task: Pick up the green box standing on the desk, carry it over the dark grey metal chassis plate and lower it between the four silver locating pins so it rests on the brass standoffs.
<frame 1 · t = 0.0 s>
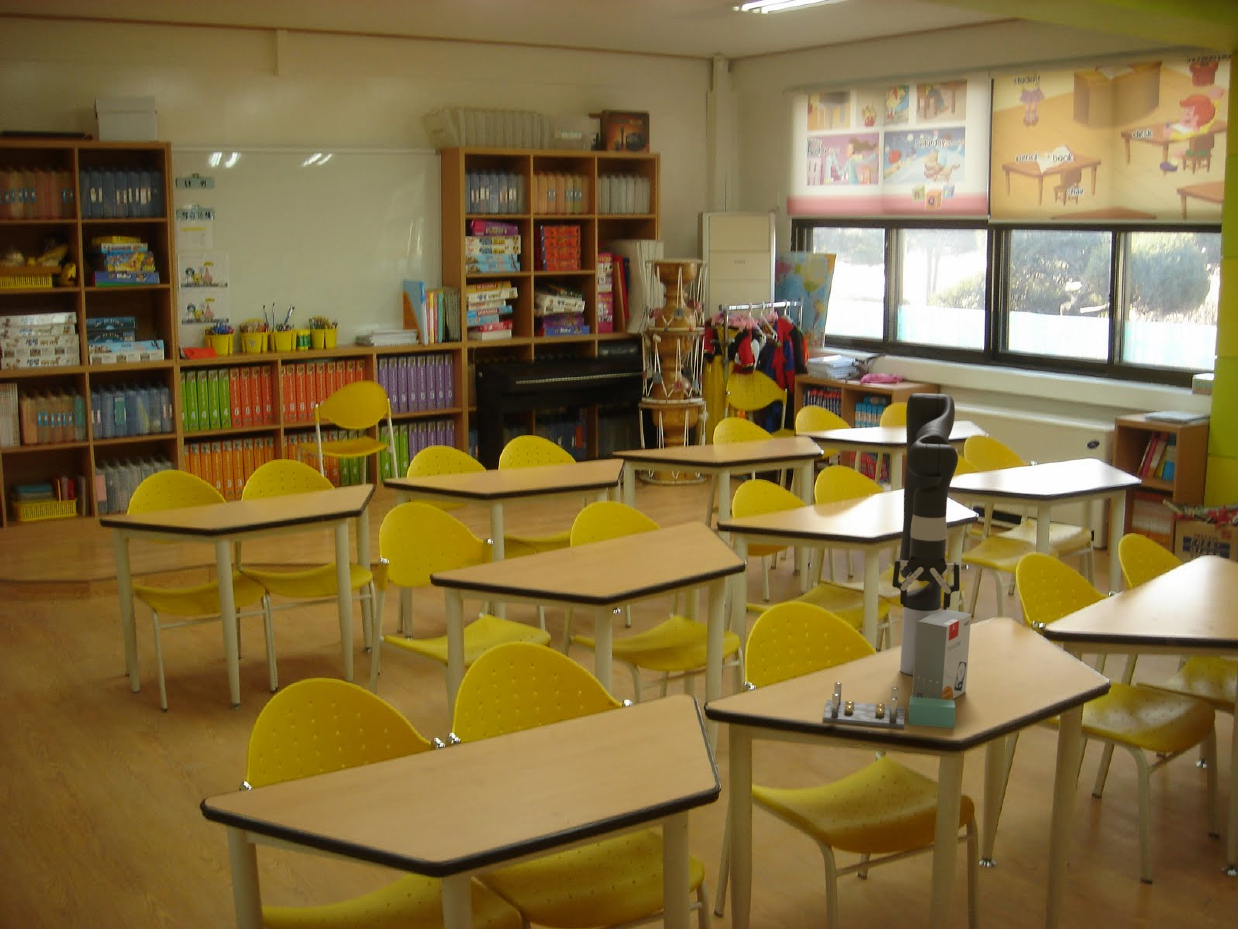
hand: (924, 607, 285), 29 cm above the table, fingers open, 8 cm apart
green box: (931, 723, 298), on the table
chassis: (864, 716, 301), on the table
hard drive box: (939, 697, 315), on the table
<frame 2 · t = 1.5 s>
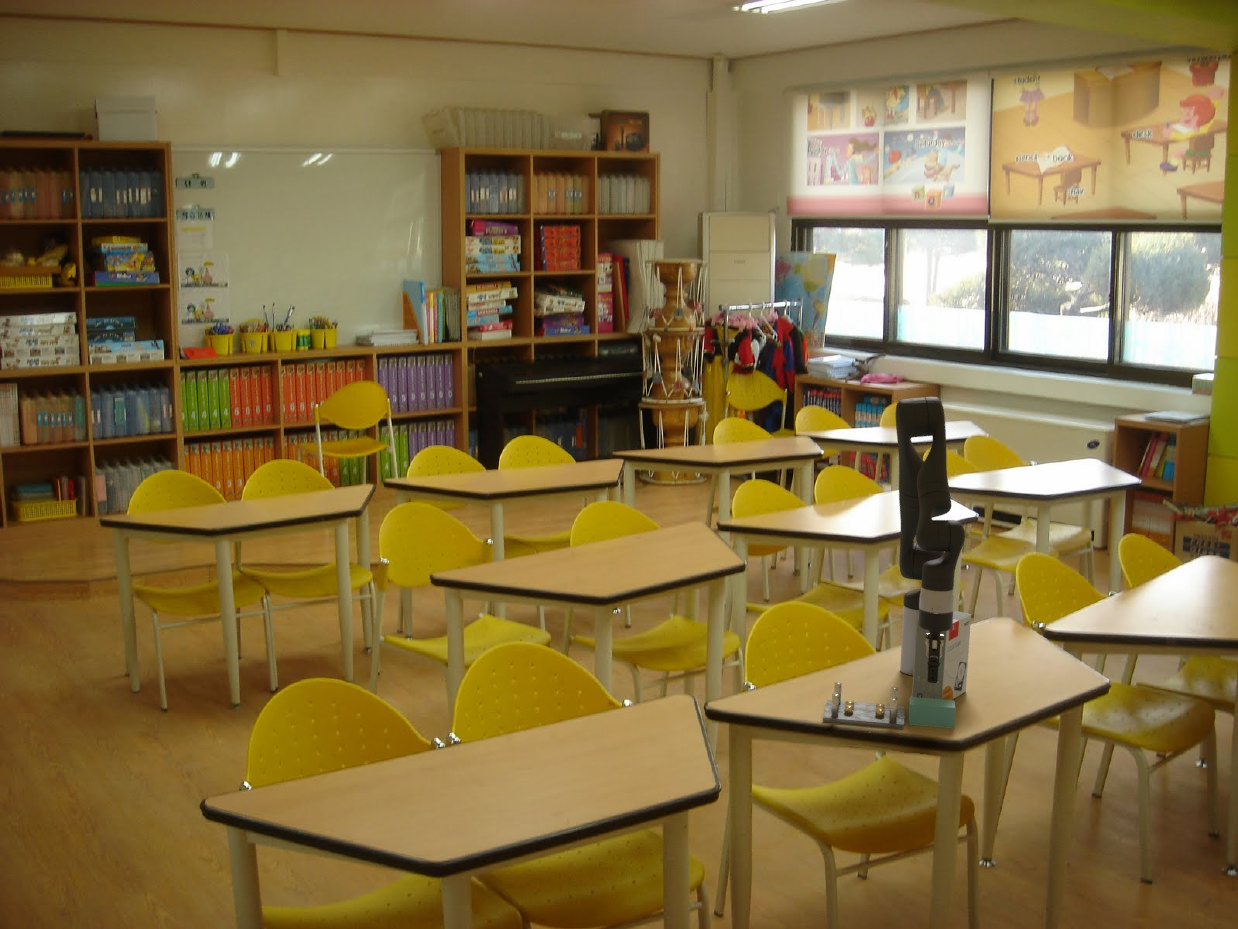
hand: (932, 676, 296), 11 cm above the table, fingers open, 8 cm apart
nothing on the table moved.
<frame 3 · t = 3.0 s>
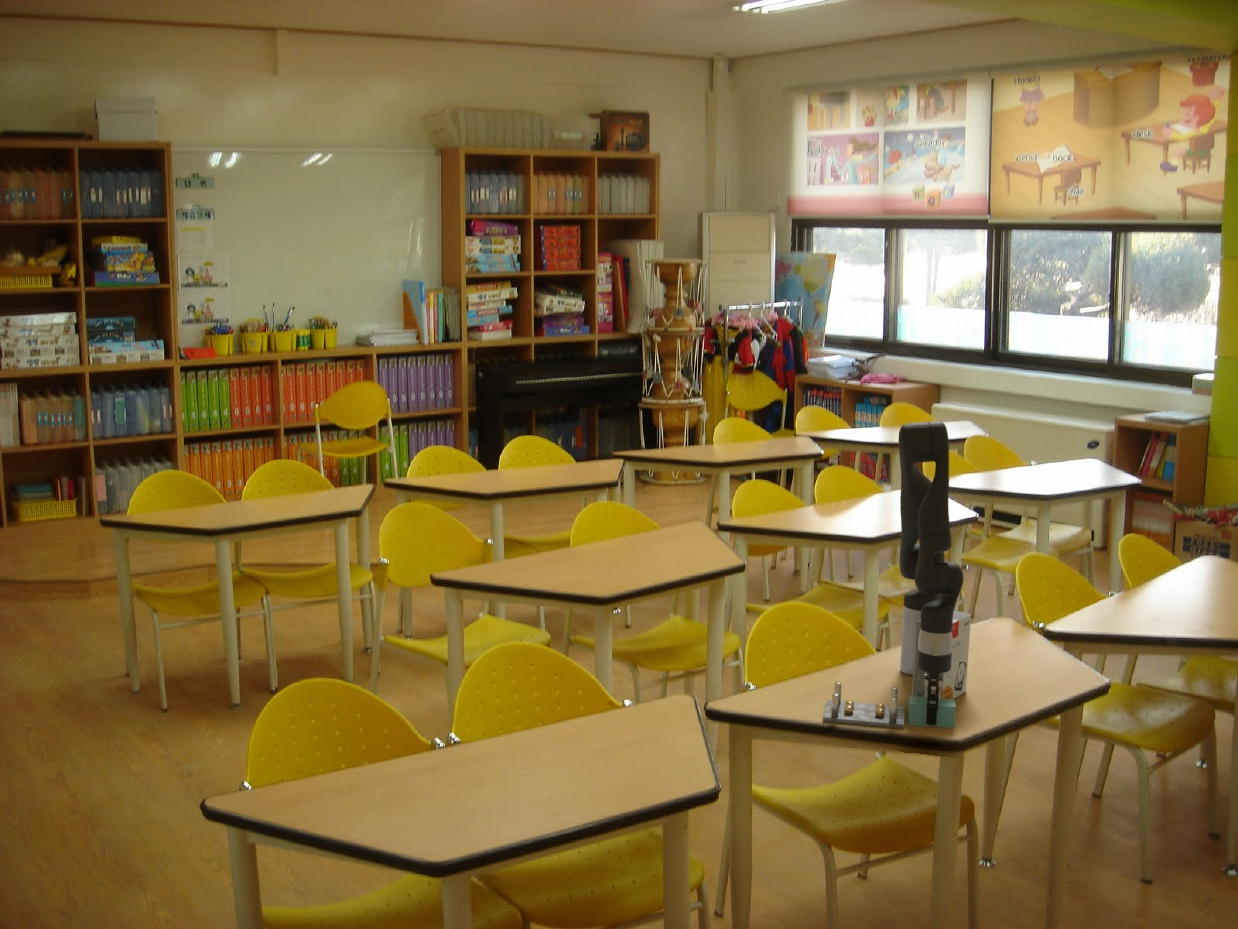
hand: (931, 720, 298), 1 cm above the table, fingers closed on green box, 5 cm apart
green box: (931, 722, 298), on the table, touching gripper
everything else where it was.
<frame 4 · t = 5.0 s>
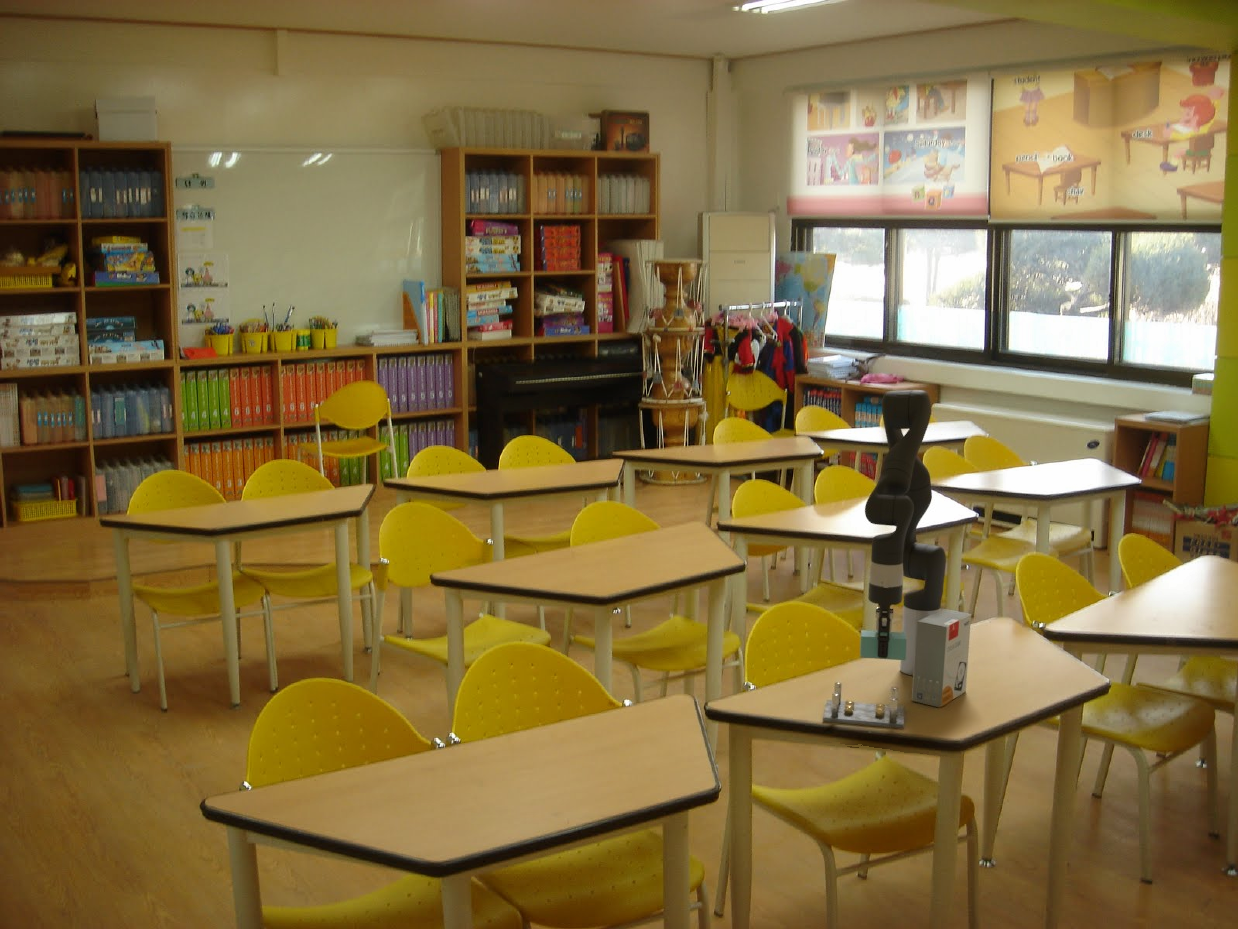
hand: (882, 653, 298), 16 cm above the table, fingers closed on green box, 5 cm apart
green box: (882, 655, 298), point 15 cm above the table, touching gripper
everything else where it was.
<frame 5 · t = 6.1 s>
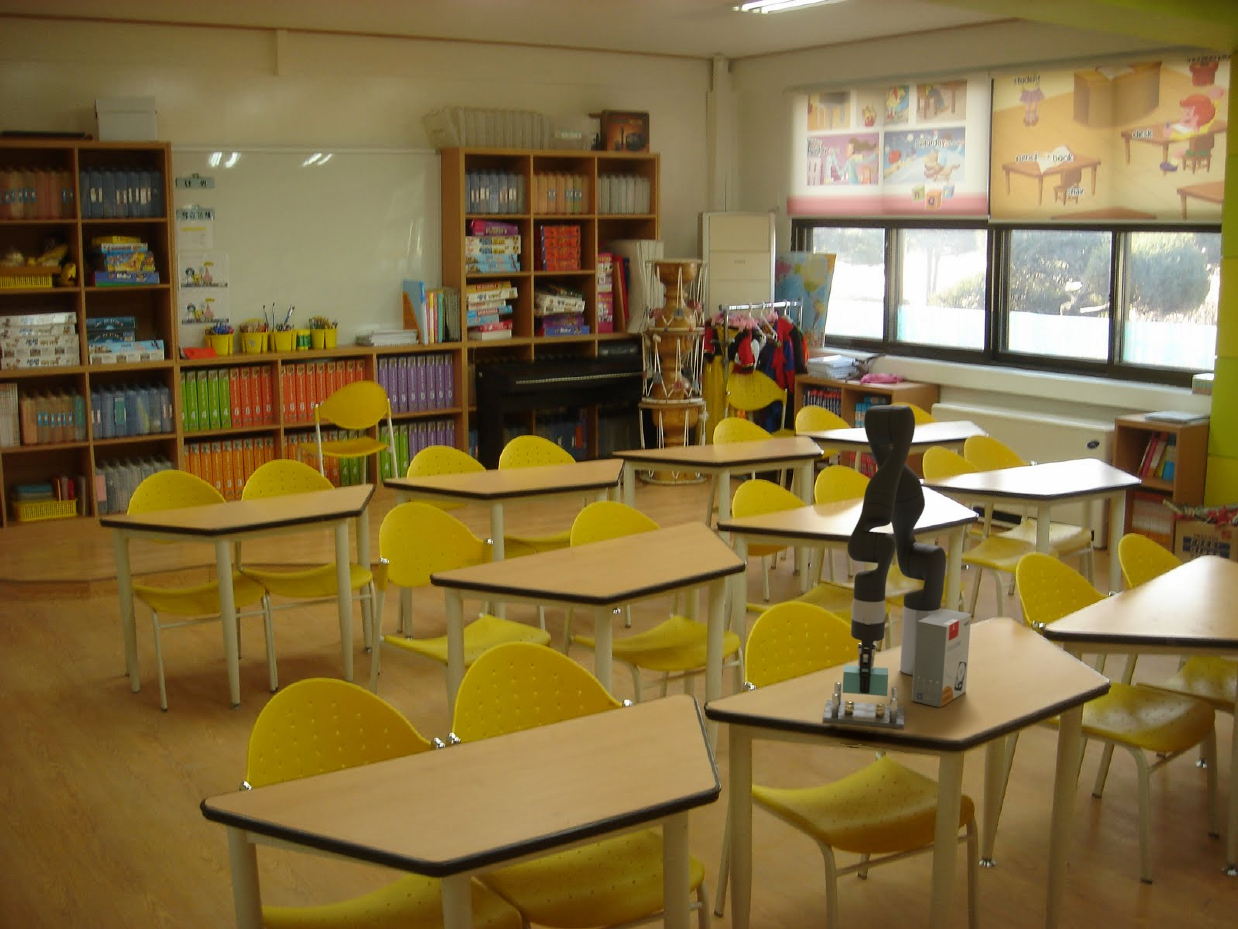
hand: (865, 688, 300), 7 cm above the table, fingers closed on green box, 5 cm apart
green box: (864, 690, 300), point 6 cm above the table, touching gripper
everything else where it was.
when the fingers open (4 cm above the table, at t = 7.1 s): green box stays where it is, resting on chassis.
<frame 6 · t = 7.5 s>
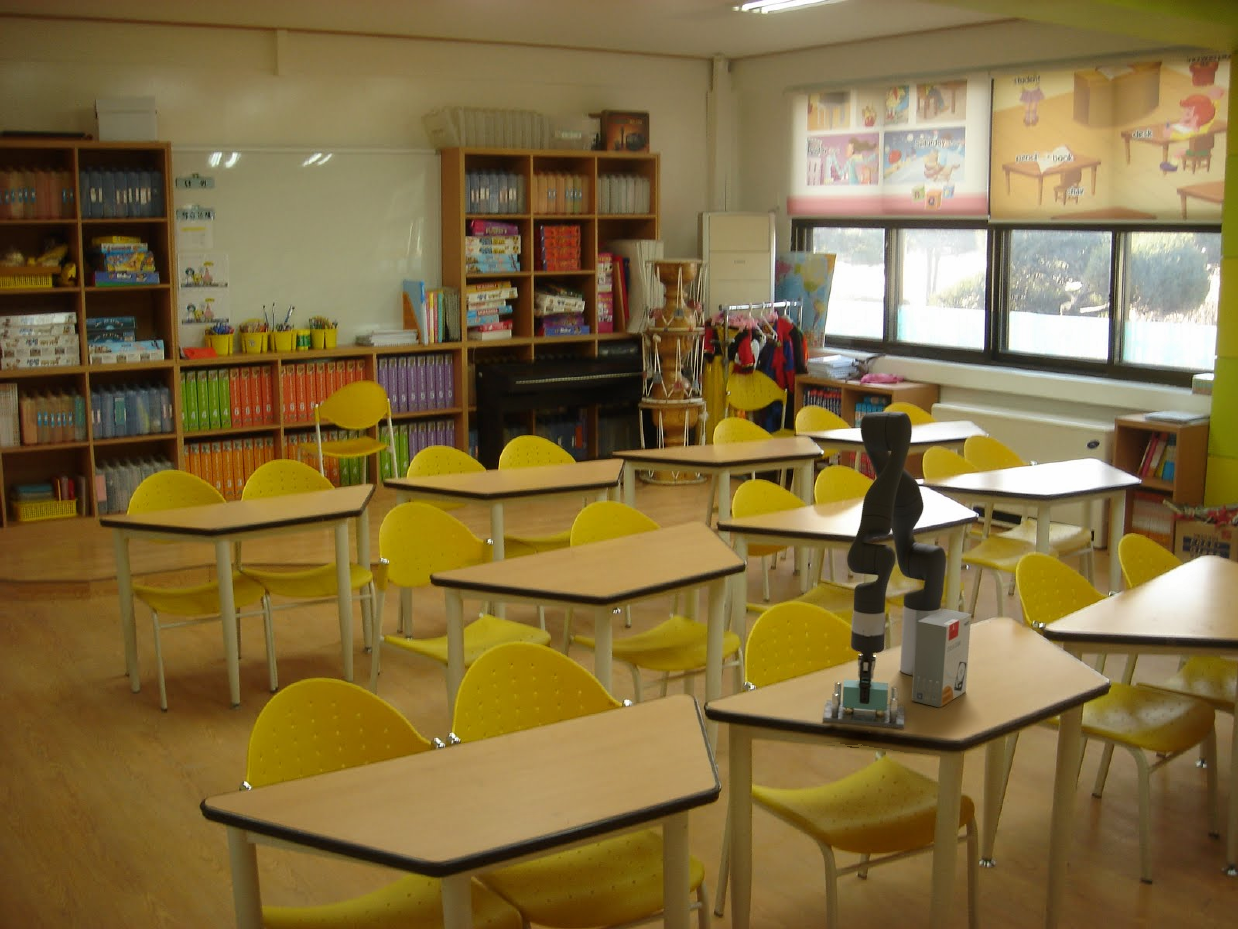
hand: (865, 697, 301), 5 cm above the table, fingers open, 8 cm apart
green box: (864, 705, 301), point 2 cm above the table, touching chassis
everything else where it was.
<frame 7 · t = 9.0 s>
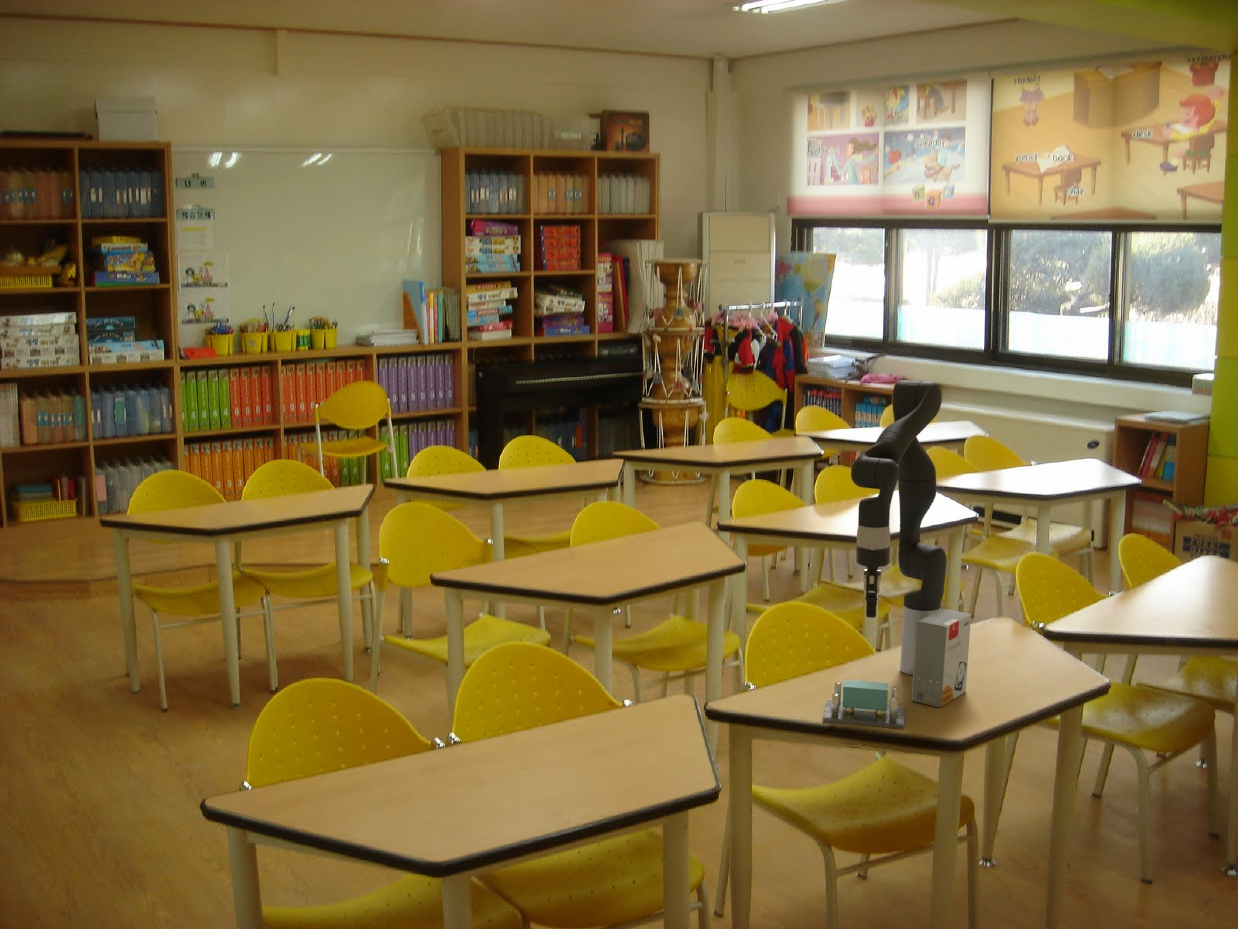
hand: (871, 611, 302), 24 cm above the table, fingers open, 8 cm apart
nothing on the table moved.
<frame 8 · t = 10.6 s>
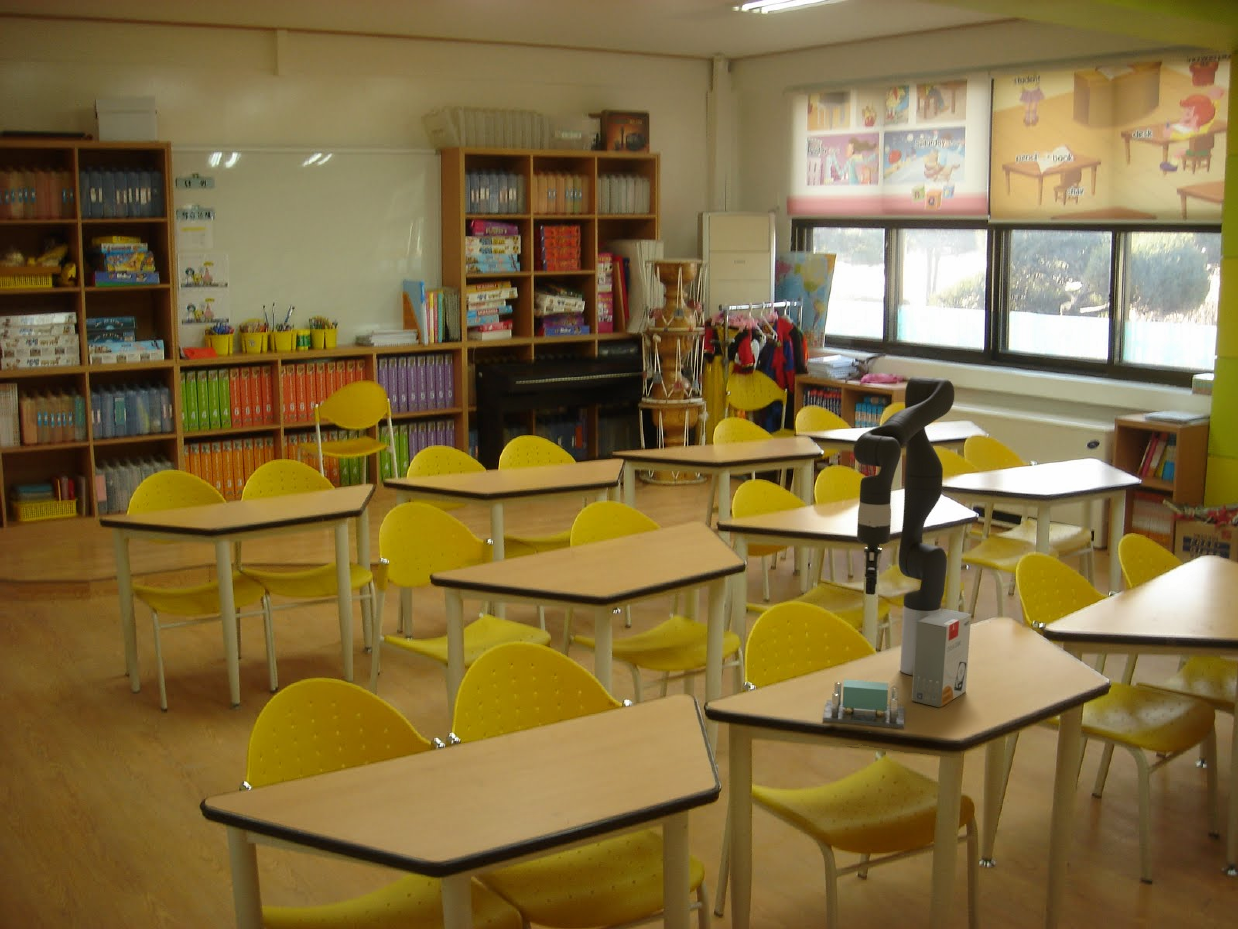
hand: (871, 589, 304), 28 cm above the table, fingers open, 8 cm apart
nothing on the table moved.
at the end: green box 0.1 cm off-centre on the chassis, point 2.5 cm above the chassis's base; green box tilted 0°; the gripper is holding nothing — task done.
